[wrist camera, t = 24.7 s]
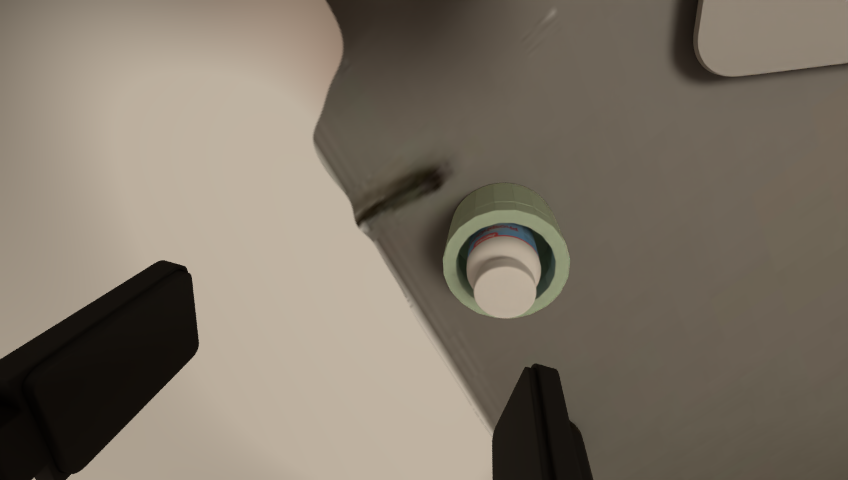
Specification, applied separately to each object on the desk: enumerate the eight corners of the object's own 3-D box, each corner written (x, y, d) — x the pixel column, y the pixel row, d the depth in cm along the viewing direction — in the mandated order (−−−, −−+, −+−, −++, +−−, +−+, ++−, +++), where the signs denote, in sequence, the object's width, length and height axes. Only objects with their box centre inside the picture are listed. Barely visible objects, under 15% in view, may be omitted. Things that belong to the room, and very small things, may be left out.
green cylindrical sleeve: (466, 170, 36) (461, 194, 29) (571, 199, 35) (591, 231, 29) (439, 260, 40) (430, 299, 34) (532, 287, 40) (541, 331, 33)
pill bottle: (508, 191, 35) (517, 242, 25) (542, 238, 37) (563, 304, 27) (458, 224, 38) (447, 283, 27) (492, 267, 39) (494, 338, 29)
